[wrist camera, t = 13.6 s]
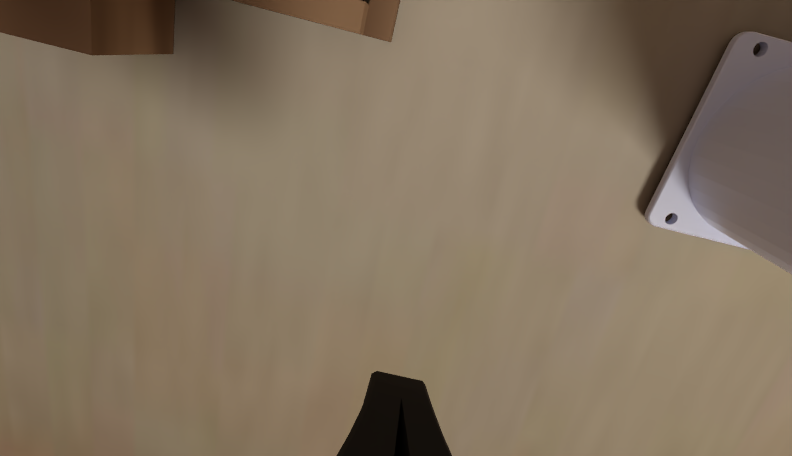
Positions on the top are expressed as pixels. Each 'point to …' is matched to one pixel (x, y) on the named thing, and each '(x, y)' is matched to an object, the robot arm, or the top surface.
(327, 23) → the cradle
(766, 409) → the top surface
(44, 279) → the top surface
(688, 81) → the top surface
